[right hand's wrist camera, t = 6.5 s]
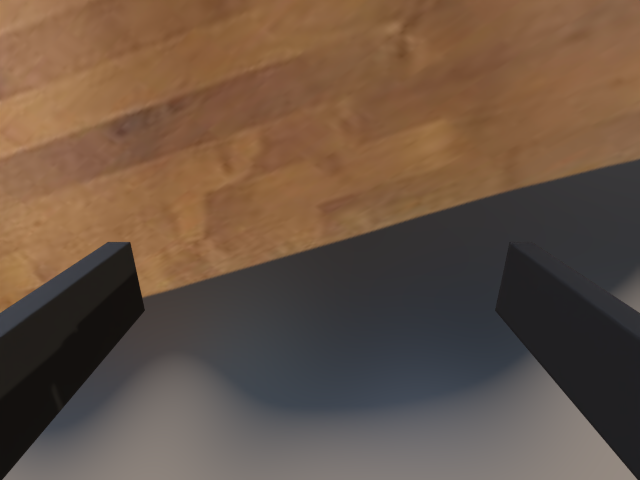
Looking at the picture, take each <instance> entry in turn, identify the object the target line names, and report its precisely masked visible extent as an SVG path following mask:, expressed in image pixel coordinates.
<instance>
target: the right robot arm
mask: <svg viewBox="0 0 640 480" xmlns="http://www.w3.org/2000/svg"><path fill="white" fill-rule="evenodd" d="M144 311H145V309H144V304H143V300H142V295H141V290H140V286H139V281H138V276H137V272H136V267H135V262H134V258H133V253H132V248H131V244H130V242H107V243H106V244H104V245H103V246H101V247H100V248H98V249H97V250H95V251H94V252H92V253H91V254H89V255H88V256H86V257H85V258H83V259H82V260H80V261H79V262H77V263H76V264H74V265H73V266H71V267H70V268H68V269H66V270H65V271H63V272H62V273H60V274H59V275H57V276H56V277H54V278H53V279H51V280H50V281H48V282H47V283H45V284H44V285H42V286H41V287H39V288H38V289H36V290H35V291H33V292H32V293H30V294H29V295H27V296H26V297H24V298H22V299H21V300H19V301H18V302H16V303H15V304H13V305H12V306H10V307H9V308H7V309H6V310H4V311H3V312H1V313H0V480H2V479H3V478H4V477H5V476H6V475H7V473H8V472H9V471H10V470H11V469H12V468H13V466H14V465H15V464H16V463H17V462H18V460H19V459H20V458H21V457H22V456H23V454H24V453H25V452H26V451H27V450H28V449H29V447H30V446H31V445H32V444H33V443H34V441H35V440H36V439H37V438H38V437H39V435H40V434H41V433H42V432H43V431H44V430H45V428H46V427H47V426H48V425H49V424H50V422H51V421H52V420H53V419H54V418H55V416H56V415H57V414H58V413H59V412H60V411H61V409H62V408H63V407H64V406H65V405H66V403H67V402H68V401H69V400H70V399H71V397H72V396H73V395H74V394H75V393H76V391H77V390H78V389H79V388H80V387H81V386H82V384H83V383H84V382H85V381H86V380H87V378H88V377H89V376H90V375H91V374H92V373H93V371H94V370H95V369H96V368H97V367H98V365H99V364H100V363H101V362H102V361H103V359H104V358H105V357H106V356H107V355H108V354H109V352H110V351H111V350H112V349H113V348H114V346H115V345H116V344H117V343H118V342H119V341H120V339H121V338H122V337H123V336H124V335H125V333H126V332H127V331H128V330H129V329H130V327H131V326H132V325H133V324H134V323H135V321H136V320H137V319H138V318H139V317H140V316H141V314H142V313H143V312H144ZM495 311H496V312H497V313H498V314H499V316H500V317H501V318H502V319H503V320H504V322H505V323H506V324H507V325H508V326H509V327H510V329H511V330H512V331H513V332H514V333H515V335H516V336H517V337H518V338H519V339H520V341H521V342H522V343H523V344H524V345H525V346H526V348H527V349H528V350H529V351H530V352H531V354H532V355H533V356H534V357H535V358H536V359H537V361H538V362H539V363H540V364H541V365H542V367H543V368H544V369H545V370H546V371H547V373H548V374H549V375H550V376H551V377H552V378H553V380H554V381H555V382H556V383H557V384H558V386H559V387H560V388H561V389H562V390H563V392H564V393H565V394H566V395H567V396H568V397H569V399H570V400H571V401H572V402H573V403H574V405H575V406H576V407H577V408H578V409H579V411H580V412H581V413H582V414H583V415H584V416H585V418H586V419H587V420H588V421H589V422H590V424H591V425H592V426H593V427H594V428H595V430H596V431H597V432H598V433H599V434H600V435H601V437H602V438H603V439H604V440H605V441H606V443H607V444H608V445H609V446H610V447H611V448H612V450H613V451H614V452H615V453H616V454H617V456H618V457H619V458H620V459H621V460H622V462H623V463H624V464H625V465H626V466H627V468H628V469H629V470H630V471H631V472H632V473H633V475H634V476H635V477H636V478H637V479H638V480H640V313H639V312H637V311H636V310H634V309H633V308H631V307H630V306H628V305H627V304H625V303H624V302H622V301H621V300H619V299H618V298H616V297H614V296H613V295H611V294H610V293H608V292H607V291H605V290H604V289H602V288H601V287H599V286H598V285H596V284H595V283H593V282H592V281H590V280H589V279H587V278H586V277H584V276H583V275H581V274H580V273H578V272H577V271H575V270H574V269H572V268H570V267H569V266H567V265H566V264H564V263H563V262H561V261H560V260H558V259H557V258H555V257H554V256H552V255H551V254H549V253H548V252H546V251H545V250H543V249H542V248H540V247H539V246H537V245H536V244H534V243H532V242H510V244H509V248H508V253H507V258H506V262H505V267H504V272H503V277H502V281H501V286H500V290H499V295H498V300H497V305H496V309H495Z"/></svg>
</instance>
